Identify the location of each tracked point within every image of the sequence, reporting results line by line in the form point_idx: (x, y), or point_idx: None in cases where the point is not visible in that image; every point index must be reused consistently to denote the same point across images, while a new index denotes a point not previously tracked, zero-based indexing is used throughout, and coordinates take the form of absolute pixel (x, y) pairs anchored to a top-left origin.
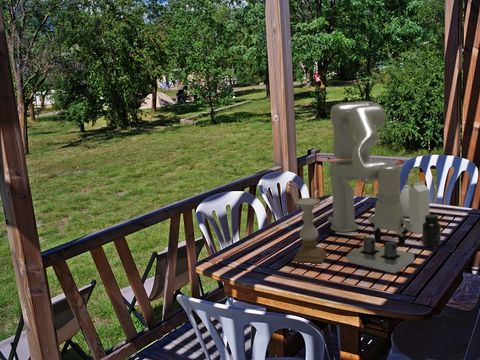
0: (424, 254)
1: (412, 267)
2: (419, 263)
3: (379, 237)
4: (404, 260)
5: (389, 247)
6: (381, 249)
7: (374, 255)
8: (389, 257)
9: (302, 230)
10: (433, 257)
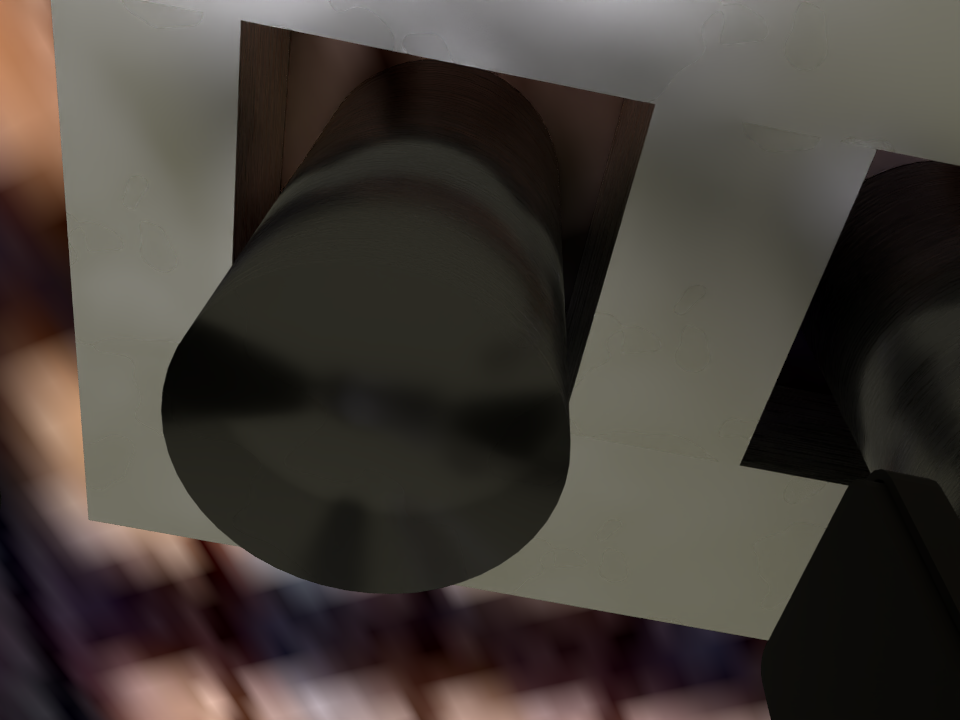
0: (163, 678)
1: (16, 171)
2: (29, 380)
3: (811, 665)
4: (77, 180)
5: (316, 233)
6: (736, 542)
7: (811, 174)
8: (386, 122)
9: None
10: (7, 625)
